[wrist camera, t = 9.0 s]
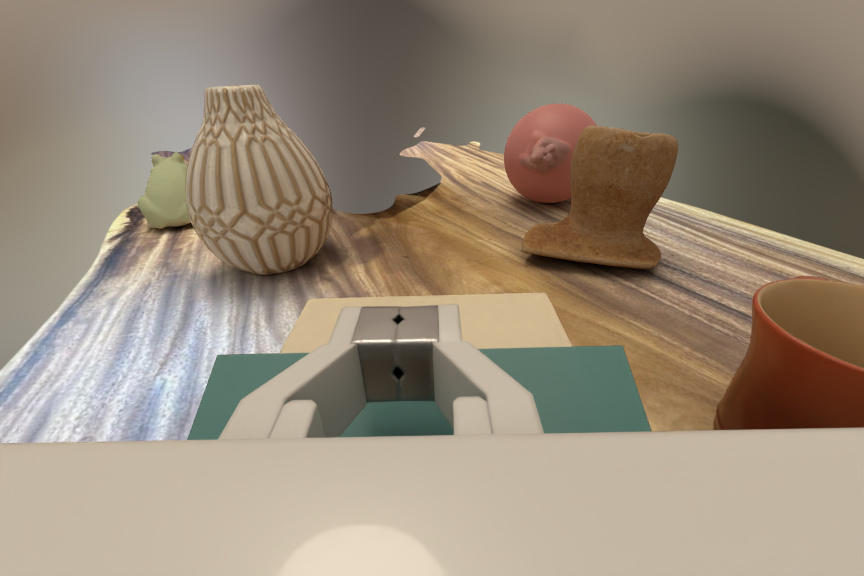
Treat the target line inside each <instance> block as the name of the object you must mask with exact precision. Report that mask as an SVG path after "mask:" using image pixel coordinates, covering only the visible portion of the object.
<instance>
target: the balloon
mask: <svg viewBox="0 0 864 576" xmlns="http://www.w3.org/2000/svg"><path fill="white" fill-rule="evenodd" d="M588 126H597V125H596V124H595V122H594V121H593V120H592V118H591V117H590V116H589V115H588V114H586V113H585V112H584V111H582V110H581V109H579V108H577V107H574V106H571V105H567V104H550V105H545V106H542V107H539V108H537V109H535V110H533V111H531V112H530V113H528V114H527V115H525V116H524V117H523V118H522V119H521V120H520V121H519V122H518V123H517V124H516V126H515V127H514V128H513V130H512V132H511V134H510V136H509V138H508V140H507V143H506V147H505V153H504V164H505V170H506V173H507V176H508V178H509V180H510V182H511V184H512V185H513V186H514V188H515V189H516V190H517V191H518V192H519V193H521V194H522V195H523V196H525V197H527V198H528V199H531V200H533V201H536V202H541V203H556V202H561V201H564V200H567V199H569V198H571V160H572V155H573V151H574V148H575V145H576V143H577V140H578V138H579V136H580V134H581V133H582V131H583V130H584V129H585V128H586V127H588Z"/></svg>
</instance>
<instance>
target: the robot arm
mask: <svg viewBox="0 0 864 576" xmlns="http://www.w3.org/2000/svg"><path fill="white" fill-rule="evenodd" d="M438 312H439V316H438ZM393 401H435V404H436V405H437V406H438V408H439V409H440V411H441V412H442V413H443V415H444V416H445V418H446V419H447V421H448V422H449V423H450V425H451V426H452V428H453V435H430V436H380V437H339V436H340V435H341V434H342V433H343V432H344V431H345V429H346V428H347V427H348V426H349V425H350V424H351V422H352V421H353V420H354V419H355V418H356V417H357V415H358V414H359V413H360V412H361V411H362V410H363V409H364V407H365V406H366V405H367V403H372V402H393ZM0 576H864V427H862V428H808V429H754V430H700V431H646V432H599V433H544V431H543V428H542V424H541V421H540V418H539V414H538V411H537V408H536V404H535V401H534V398H533V395H532V393H530V392H529V391H528V390H527V389H525V388H524V387H523V386H522V385H521V384H519V383H518V382H517V381H516V380H515V379H513V378H512V377H511V376H510V375H508V374H507V373H506V372H505V371H504V370H502V369H501V368H500V367H499V366H498V365H496V364H495V363H494V362H493V361H491V360H490V359H489V358H488V357H487V356H485V355H484V354H483V353H482V352H480V351H479V350H478V349H477V348H476V347H474V346H473V345H472V344H471V343H470V342H468V341H462V332H461V323H460V314H459V305H458V304H446V305H439V309H438V305H430V306H409V307H401V306H376V307H362V306H359V307H344V308H342V309H341V312H340V314H339V317H338V319H337V322H336V325H335V327H334V330H333V332H332V335H331V337H330V340H329V343H328V344H326V345H321V346H319V347H318V348H316V349H315V350H314V351H312V352H311V353H309V354H308V355H306V356H305V357H303V358H302V359H300V360H299V361H297V362H296V363H294V364H293V365H291V366H290V367H288V368H287V369H286V370H284V371H283V372H281V373H280V374H278V375H277V376H275V377H274V378H272V379H271V380H269V381H268V382H266V383H265V384H263V385H262V386H260V387H259V388H258V389H256V390H255V391H253V392H252V393H250V394H249V395H247V396H246V397H244V398H243V399H241V401H240V402H239V404H238V406H237V408H236V409H235V411H234V413H233V414H232V416H231V418H230V420H229V421H228V423H227V425H226V426H225V428H224V430H223V431H222V433H221V435H220V437H219V438H218V440H164V441H108V442H53V443H0Z"/></svg>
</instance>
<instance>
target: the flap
mask: <svg viewBox="0 0 864 576" xmlns="http://www.w3.org/2000/svg"><path fill="white" fill-rule="evenodd" d="M478 350H479V351H480V352H482V353H483V354H484V355H485V356H487V357H488V358H489V359H490V360H491V361H493V362H494V363H495V364H496V365H498V366H499V367H500V368H501V369H502V370H504V371H505V372H506V373H507V374H508V375H510V376H511V377H512V378H513V379H515V380H516V381H517V382H518V383H519V384H521V385H522V386H523V387H524V388H525V389H527V390H528V391H529V392H530V393H532V395H533V398H534V401H535V404H536V408H537V411H538V414H539V418H540V421H541V424H542V428H543V431H544V433H599V432H646V431H651V428H650V425H649V422H648V420H647V417H646V414H645V411H644V408H643V405H642V402H641V399H640V396H639V393H638V390H637V387H636V384H635V381H634V378H633V375H632V372H631V369H630V366H629V363H628V360H627V357H626V354H625V351H624V348H623V346H577V347H534V348H491V349H478ZM308 354H309V353H274V354H231V355H217V358H216V361H215V363H214V366H213V369H212V372H211V375H210V377H209V380H208V383H207V386H206V389H205V392H204V394H203V397H202V400H201V403H200V406H199V408H198V411H197V414H196V417H195V420H194V422H193V425H192V428H191V431H190V434H189V436H188V439H187V440H218V438H219V437H220V435H221V433H222V431H223V430H224V428H225V426H226V425H227V423H228V421H229V420H230V418H231V416H232V414H233V413H234V411H235V409H236V408H237V406H238V404H239V402H240V401H241V399H243V398H244V397H246V396H247V395H249V394H250V393H252V392H253V391H255V390H256V389H258V388H259V387H260V386H262V385H263V384H265V383H266V382H268V381H269V380H271V379H272V378H274V377H275V376H277V375H278V374H280V373H281V372H283V371H284V370H286V369H287V368H288V367H290V366H291V365H293V364H294V363H296V362H297V361H299V360H300V359H302V358H303V357H305V356H306V355H308ZM430 435H453V428H452V426H451V425H450V423H449V422H448V421H447V419H446V418H445V416H444V415H443V413H442V412H441V411H440V409H439V408H438V406H437V405H436V404H435V401H393V402H372V403H367V405H366V406H365V407H364V409H363V410H362V411H361V412H360V413H359V414H358V415H357V417H356V418H355V419H354V420H353V421H352V422H351V424H350V425H349V426H348V427H347V428H346V429H345V431H344V432H343V433H342V434H341V435H340V436H339V437H380V436H430Z"/></svg>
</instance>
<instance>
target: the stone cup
mask: <svg viewBox="0 0 864 576" xmlns="http://www.w3.org/2000/svg"><path fill="white" fill-rule="evenodd" d="M677 153H678V141H677V140H676V139H675V138H674V137H673V136H671V135H667V134H659V133H655V134H654V133H644V132H631V131H627V130H625V129H620V128H609V127H602V126H588V127H586V128H585V129H584V130H583V131H582V133H581V134H580V136H579V138H578V140H577V143H576V145H575V148H574V151H573V155H572V160H571V209H570V213H569V215H568V216H567V217H566V218H565V219H564V220H562V221H560V222H545V223H540V224H537V225H534V226H533V227H531V228H530V229H529V231H528V232H527V234H526V235H525V237H524V239H523V242H522V252H525V253H530V254H536V255H540V256H547V257H552V258H558V259H565V260H571V261H577V262H585V263H593V264H600V265H609V266H618V267H629V268H653V267H655V266H657V265H658V263H659V262H660V257H661V253H660V250H659V248H658V247H657V246H656V245H655V244H654V243H653V242H652V241H650V240H649V239H648V238H646V237H645V236H644V234H643V228H644V225H645V222H646V220H647V218H648V216H649V214H650V212H651V210H652V209H653V207H654V206H655V205H656V203H657V202H658V200H659V199H660V197H661V196H662V194H663V192H664V190H665V189H666V186H667V185H668V182H669V180H670V178H671V174H672V172H673V169H674V165H675V162H676V157H677Z"/></svg>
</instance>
